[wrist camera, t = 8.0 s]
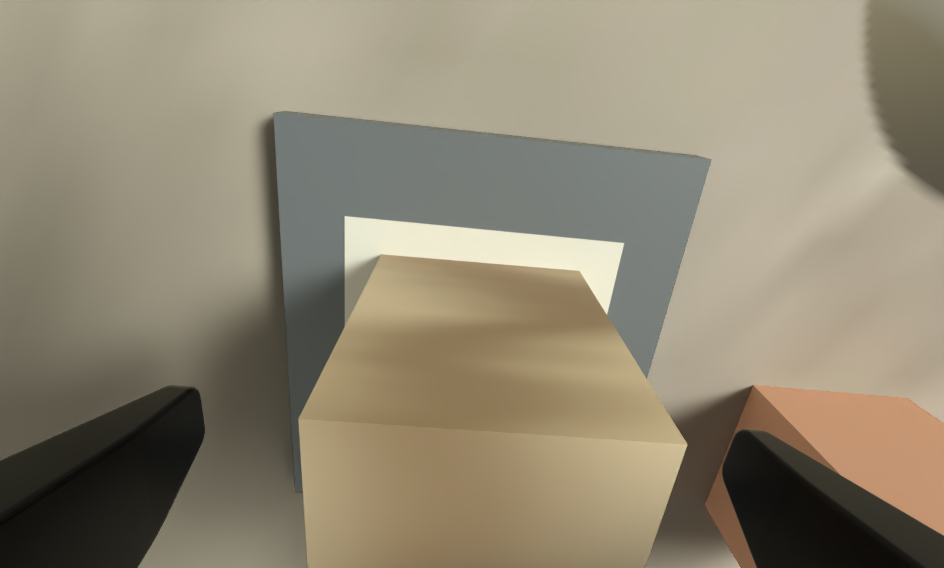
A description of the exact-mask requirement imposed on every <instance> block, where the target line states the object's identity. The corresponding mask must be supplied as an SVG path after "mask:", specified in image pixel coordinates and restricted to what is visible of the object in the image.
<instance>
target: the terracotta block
mask: <svg viewBox="0 0 944 568" xmlns="http://www.w3.org/2000/svg"><path fill="white" fill-rule="evenodd" d="M741 429H751V430H762V431H766V432H768V433H770V434H772V435H773V436H775V437H777V438H778V439H780V440H782V441H784V442H785V443H787V444H789V445H790V446H792V447H794V448H796V449H797V450H799V451H801V452H802V453H804V454H806V455H807V456H809V457H811V458H813V459H814V460H816V461H818V462H819V463H821V464H823V465H824V466H826V467H828V468H830V469H831V470H833V471H835V472H836V473H838V474H840V475H842V476H843V477H845V478H847V479H848V480H850V481H852V482H853V483H855V484H857V485H859V486H860V487H862V488H864V489H865V490H867V491H869V492H870V493H872V494H874V495H876V496H877V497H879V498H881V499H882V500H884V501H886V502H888V503H889V504H891V505H893V506H894V507H896V508H898V509H899V510H901V511H903V512H905V513H906V514H908V515H910V516H911V517H913V518H915V519H917V520H918V521H920V522H922V523H923V524H925V525H927V526H928V527H930V528H932V529H934V530H935V531H937V532H939V533H940V534H942V535H944V423H943V422H941V421H940V420H938V419H937V418H935V417H934V416H933V415H931V414H930V413H928V412H927V411H925V410H924V409H923V408H921V407H920V406H918V405H917V404H915V403H914V402H913V401H911V400H910V399H908V398H900V397H888V396H876V395H864V394H852V393H841V392H829V391H817V390H805V389H793V388H781V387H769V386H757V385H753V388H752V390H751V392H750V395H749V397H748V400H747V402H746V405H745V407H744V410H743V412H742V415H741V417H740V420H739V422H738V424H737V427H736V429H735V432H734V434H733V437H732V439H731V442H730V444H729V447H728V449H727V452H726V454H725V457H724V459H723V461H722V464H721V466H720V469H719V471H718V474H717V476H716V479H715V481H714V484H713V486H712V489H711V491H710V494H709V496H708V498H707V501H706V503H705V506H706V508H707V510H708V512H709V513H710V515H711V517H712V519H713V520H714V522H715V524H716V526H717V527H718V529H719V531H720V533H721V534H722V536H723V538H724V540H725V541H726V543H727V545H728V546H729V548H730V550H731V552H732V553H733V555H734V557H735V559H736V560H737V562H738V564H739V566H740V567H741V568H757V567H756V565H755V562H754V560H753V558H752V555H751V552H750V550H749V547H748V545H747V542H746V539H745V537H744V534H743V531H742V529H741V526H740V523H739V521H738V518H737V515H736V513H735V510H734V507H733V505H732V502H731V500H730V497H729V494H728V492H727V489H726V486H725V484H724V481H723V476H722V466H723V463H724V460H725V458H726V455H727V453H728V450H729V448H730V445H731V443H732V440H733V438H734V435H735V434H736V433H737V432H738V431H739V430H741Z"/></svg>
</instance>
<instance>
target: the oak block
mask: <svg viewBox="0 0 944 568" xmlns="http://www.w3.org/2000/svg"><path fill="white" fill-rule="evenodd" d="M298 421H299V437H300V453H301V470H302V486H303V502H304V518H305V534H306V550H307V566H308V568H645V566H646V563H647V561H648V558H649V555H650V552H651V549H652V546H653V543H654V540H655V537H656V535H657V532H658V529H659V526H660V523H661V520H662V517H663V514H664V511H665V509H666V506H667V503H668V500H669V497H670V494H671V491H672V488H673V485H674V483H675V480H676V477H677V474H678V471H679V468H680V465H681V462H682V459H683V457H684V454H685V451H686V448H687V445H688V444H687V443H686V441H685V440H684V438H683V436H682V435H681V433H680V432H679V430H678V428H677V427H676V425H675V424H674V422H673V420H672V419H671V417H670V416H669V414H668V412H667V411H666V409H665V408H664V406H663V404H662V403H661V401H660V399H659V398H658V396H657V395H656V393H655V391H654V390H653V388H652V387H651V385H650V383H649V382H648V380H647V379H646V377H645V375H644V374H643V372H642V371H641V369H640V367H639V366H638V364H637V363H636V361H635V359H634V358H633V356H632V354H631V353H630V351H629V350H628V348H627V346H626V345H625V343H624V342H623V340H622V338H621V337H620V335H619V334H618V332H617V330H616V329H615V327H614V326H613V324H612V322H611V321H610V319H609V318H608V316H607V314H606V313H605V311H604V310H603V308H602V306H601V305H600V303H599V301H598V300H597V298H596V297H595V295H594V293H593V292H592V290H591V289H590V287H589V285H588V284H587V282H586V281H585V279H584V277H583V276H582V274H581V273H580V271H575V270H564V269H552V268H540V267H528V266H516V265H504V264H492V263H480V262H468V261H456V260H444V259H432V258H420V257H408V256H396V255H385V254H381V256H380V258H379V260H378V262H377V264H376V266H375V268H374V270H373V272H372V274H371V276H370V278H369V280H368V282H367V284H366V286H365V288H364V290H363V292H362V294H361V296H360V298H359V300H358V302H357V304H356V306H355V308H354V310H353V311H352V313H351V315H350V317H349V319H348V321H347V323H346V325H345V327H344V329H343V331H342V333H341V335H340V337H339V339H338V341H337V343H336V345H335V347H334V349H333V351H332V353H331V355H330V357H329V359H328V361H327V363H326V365H325V367H324V369H323V371H322V373H321V375H320V377H319V379H318V381H317V383H316V385H315V387H314V389H313V391H312V393H311V395H310V397H309V399H308V401H307V403H306V405H305V407H304V409H303V411H302V413H301V415H300V417H299V419H298Z"/></svg>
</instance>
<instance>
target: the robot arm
mask: <svg viewBox="0 0 944 568" xmlns="http://www.w3.org/2000/svg"><path fill="white" fill-rule="evenodd" d="M204 434H205V425H204V418H203V412H202V405H201V398H200V394H199V392H198V390H197V389H196V388H194V387H186V386H167V387H164V388H162V389H160V390H157V391H155V392H153V393H151V394H149V395H146V396H144V397H142V398H140V399H137V400H135V401H133V402H131V403H128V404H126V405H124V406H122V407H119V408H117V409H115V410H113V411H111V412H108V413H106V414H104V415H102V416H99V417H97V418H95V419H93V420H90V421H88V422H86V423H84V424H81V425H79V426H77V427H75V428H72V429H70V430H68V431H66V432H64V433H61V434H59V435H57V436H55V437H52V438H50V439H48V440H46V441H43V442H41V443H39V444H37V445H34V446H32V447H30V448H28V449H26V450H23V451H21V452H19V453H17V454H14V455H12V456H10V457H8V458H5V459H3V460H1V461H0V568H138V566H139V564H140V563H141V561H142V560H143V558H144V556H145V555H146V553H147V551H148V550H149V548H150V546H151V545H152V543H153V541H154V539H155V538H156V536H157V534H158V532H159V530H160V528H161V526H162V525H163V523H164V521H165V519H166V517H167V515H168V513H169V510H170V508H171V506H172V504H173V502H174V500H175V498H176V496H177V494H178V492H179V490H180V488H181V486H182V484H183V482H184V479H185V477H186V475H187V473H188V471H189V469H190V467H191V465H192V463H193V461H194V459H195V457H196V455H197V453H198V450H199V448H200V446H201V444H202V442H203V438H204ZM722 476H723V481H724V484H725V486H726V489H727V492H728V494H729V497H730V500H731V502H732V505H733V507H734V510H735V513H736V515H737V518H738V521H739V523H740V526H741V529H742V531H743V534H744V537H745V539H746V542H747V545H748V547H749V550H750V552H751V555H752V558H753V560H754V562H755V565H756V567H757V568H944V535H942V534H940V533H939V532H937V531H935V530H934V529H932V528H930V527H928V526H927V525H925V524H923V523H922V522H920V521H918V520H917V519H915V518H913V517H911V516H910V515H908V514H906V513H905V512H903V511H901V510H899V509H898V508H896V507H894V506H893V505H891V504H889V503H888V502H886V501H884V500H882V499H881V498H879V497H877V496H876V495H874V494H872V493H870V492H869V491H867V490H865V489H864V488H862V487H860V486H859V485H857V484H855V483H853V482H852V481H850V480H848V479H847V478H845V477H843V476H842V475H840V474H838V473H836V472H835V471H833V470H831V469H830V468H828V467H826V466H824V465H823V464H821V463H819V462H818V461H816V460H814V459H813V458H811V457H809V456H807V455H806V454H804V453H802V452H801V451H799V450H797V449H796V448H794V447H792V446H790V445H789V444H787V443H785V442H784V441H782V440H780V439H778V438H777V437H775V436H773V435H772V434H770V433H768V432H766V431H762V430H751V429H741V430H739V431H738V432H737V433H736V434H735V435H734V438H733V440H732V443H731V445H730V448H729V450H728V453H727V455H726V458H725V460H724V463H723V466H722Z"/></svg>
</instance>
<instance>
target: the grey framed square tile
mask: <svg viewBox="0 0 944 568" xmlns="http://www.w3.org/2000/svg"><path fill="white" fill-rule="evenodd" d="M273 117H274V134H275V151H276V169H277V186H278V203H279V221H280V238H281V256H282V273H283V290H284V308H285V325H286V343H287V360H288V377H289V395H290V412H291V430H292V447H293V464H294V482H295V492H299V493H303V486H302V470H301V453H300V437H299V421H298V419H299V417H300V415H301V413H302V411H303V409H304V407H305V405H306V403H307V401H308V399H309V397H310V395H311V393H312V391H313V389H314V387H315V385H316V383H317V381H318V379H319V377H320V375H321V373H322V371H323V369H324V367H325V365H326V363H327V361H328V359H329V357H330V355H331V353H332V351H333V349H334V347H335V345H336V343H337V341H338V339H339V337H340V335H341V333H342V331H343V329H344V327H345V325H346V323H347V321H348V319H349V317H350V315H351V313H352V311H353V310H354V308H355V306H356V304H357V302H358V300H359V298H360V296H361V294H362V292H363V290H364V288H365V286H366V284H367V282H368V280H369V278H370V276H371V274H372V272H373V270H374V268H375V266H376V264H377V262H378V260H379V258H380V256H381V254H385V255H396V256H408V257H420V258H432V259H444V260H456V261H468V262H480V263H492V264H504V265H516V266H528V267H540V268H552V269H564V270H575V271H580V273H581V274H582V276H583V277H584V279H585V281H586V282H587V284H588V285H589V287H590V289H591V290H592V292H593V293H594V295H595V297H596V298H597V300H598V301H599V303H600V305H601V306H602V308H603V310H604V311H605V313H606V314H607V316H608V318H609V319H610V321H611V322H612V324H613V326H614V327H615V329H616V330H617V332H618V334H619V335H620V337H621V338H622V340H623V342H624V343H625V345H626V346H627V348H628V350H629V351H630V353H631V354H632V356H633V358H634V359H635V361H636V363H637V364H638V366H639V367H640V369H641V371H642V372H643V374H644V375H645V377H646V379H647V376H648V373H649V369H650V366H651V363H652V359H653V356H654V352H655V349H656V346H657V342H658V339H659V335H660V332H661V329H662V325H663V322H664V319H665V315H666V312H667V308H668V305H669V302H670V298H671V295H672V291H673V288H674V285H675V281H676V278H677V274H678V271H679V268H680V264H681V261H682V257H683V254H684V251H685V247H686V244H687V241H688V237H689V234H690V230H691V227H692V224H693V220H694V217H695V213H696V210H697V207H698V203H699V200H700V196H701V193H702V190H703V186H704V183H705V179H706V176H707V173H708V169H709V166H710V162H711V160H710V159H707V158H704V157H700V156H697V155H688V154H679V153H669V152H660V151H651V150H641V149H632V148H623V147H613V146H604V145H595V144H586V143H576V142H567V141H558V140H548V139H539V138H530V137H521V136H511V135H502V134H493V133H483V132H474V131H465V130H456V129H446V128H437V127H428V126H418V125H409V124H400V123H391V122H381V121H372V120H363V119H353V118H344V117H335V116H326V115H316V114H307V113H298V112H288V111H283V112H275V113H273Z"/></svg>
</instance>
